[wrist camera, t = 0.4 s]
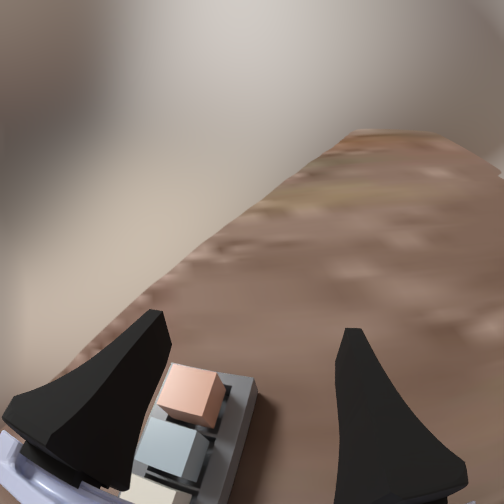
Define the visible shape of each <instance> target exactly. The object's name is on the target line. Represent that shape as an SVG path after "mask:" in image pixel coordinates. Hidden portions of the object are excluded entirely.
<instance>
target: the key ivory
mask: <svg viewBox="0 0 504 504" xmlns="http://www.w3.org/2000/svg"><path fill="white" fill-rule="evenodd" d="M191 497H192V495H191V494H188V493H185V492H182V491H179V490H177V489H174V488H171V487H168V486H166V485H163V484H160V483H158V482H155V481H153V480H150V479H148V478H144V477H142V476H139V475H136V474H133V473H132V474H131V482H130V489H129V490H127V491H125V492H121V495H120V497H119V498H121V499H124V500H127V501H129V502H132V503H135V504H189V503H190V500H191Z"/></svg>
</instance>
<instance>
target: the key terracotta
mask: <svg viewBox="0 0 504 504" xmlns="http://www.w3.org/2000/svg"><path fill="white" fill-rule="evenodd" d="M225 392H226V389H225V387H224V385H223V383H222V381H221V379H220V378H219V376H218V374H217V372H212V371H206V370H201V369H196V368H191V367H186V366H182V365H177V364H173V365H172V368H171V370H170V372H169V375H168V377H167V380H166V382H165V384H164V387H163V389H162V391H161V394H160V396H159V399H158V401H157V403H156V404H157V405H158V406H159V407H160V408H162V409H163V410H164V411H165V412H166V413H167V414H168V415H169V416H171V417H172V418H174V419H177V420H181V421H184V422H188V423H192V424H195V425H199V426H203V427H207V428H211V429H214V427H215V424H216V420H217V417H218V414H219V411H220V408H221V405H222V401H223V398H224V395H225Z"/></svg>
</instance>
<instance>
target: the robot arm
mask: <svg viewBox="0 0 504 504" xmlns="http://www.w3.org/2000/svg"><path fill="white" fill-rule="evenodd" d="M171 346H172V343H171V340H170V336H169V332H168V329H167V325H166V321H165V318H164V314H163V311H158V310H152V309H149V310H148V311H147V312H146V313H145V314H143V315H142V316H141V317H140V318H139V319H138V320H137V321H136V322H134V323H133V324H132V325H131V326H130V327H129V328H128V329H127V330H125V331H124V332H123V333H122V334H121V335H120V336H119V337H117V338H116V339H115V340H114V341H113V342H112V343H110V344H109V345H108V346H107V347H105V348H104V349H103V350H102V351H100V352H99V353H98V354H97V355H95V356H94V357H93V358H91V359H90V360H88V361H87V362H85V363H84V364H82V365H81V366H79V367H78V368H76V369H75V370H73V371H71V372H69V373H68V374H66V375H64V376H62V377H60V378H59V379H57V380H55V381H53V382H51V383H48V384H46V385H44V386H42V387H39V388H37V389H34V390H32V391H29V392H26V393H23V394H20V395H17V396H14V397H13V399H12V401H11V402H10V404H9V405H8V407H7V409H6V410H5V412H4V414H3V416H2V419H3V421H4V422H5V423H6V424H7V425H8V426H9V427H11V428H12V429H13V430H14V431H15V432H16V433H17V434H19V435H20V436H21V437H22V438H23V439H25V440H26V441H25V443H24V445H23V444H22V443H21V442H20V441H18V440H17V439H15V438H14V437H13V436H11V435H10V434H9V433H7V432H6V431H5V430H3V431H2V432H1V434H0V484H1V485H2V486H3V487H4V488H5V489H6V490H7V491H9V492H10V493H11V494H12V495H13V496H14V497H15V498H16V499H17V500H18V501H19V502H20V503H21V504H135V503H132V502H129V501H127V500H124V499H121V498H119V497H117V496H114V495H112V494H109V493H107V492H105V491H103V490H100V487H101V486H102V487H104V488H106V489H109V487H111V488H114V489H116V490H119V491H121V492H125V491H127V490H129V489H130V482H131V474H132V467H133V462H134V456H135V451H136V447H137V442H138V438H139V434H140V430H141V427H142V423H143V420H144V416H145V413H146V411H147V408H148V406H149V403H150V401H151V399H152V396H153V394H154V392H155V389H156V387H157V385H158V383H159V380H160V378H161V376H162V373H163V371H164V369H165V366H166V363H167V360H168V357H169V353H170V350H171ZM335 387H336V398H337V408H338V420H339V434H340V444H339V462H338V474H337V483H336V491H335V498H334V504H447V503H448V501H447V496H449V495H451V494H453V493H455V492H457V491H459V490H461V489H463V488H465V487H466V486H467V485H468V476H467V469H466V465H465V462H464V461H463V460H462V459H460V458H459V457H458V456H457V455H455V454H454V453H453V452H451V451H450V450H449V449H448V448H446V447H445V446H444V445H443V444H442V443H441V442H440V441H439V440H438V439H437V438H436V437H435V436H434V435H433V434H432V433H431V432H430V431H429V430H428V429H427V428H426V427H425V426H424V425H423V424H422V423H421V421H420V420H419V419H418V418H417V417H416V416H415V414H414V413H413V412H412V411H411V409H410V408H409V407H408V405H407V404H406V403H405V402H404V400H403V399H402V397H401V396H400V395H399V393H398V392H397V390H396V389H395V387H394V386H393V384H392V383H391V381H390V379H389V378H388V376H387V375H386V373H385V371H384V369H383V368H382V366H381V364H380V363H379V361H378V359H377V357H376V356H375V354H374V352H373V350H372V348H371V346H370V344H369V342H368V340H367V339H366V337H365V335H364V333H363V331H362V329H361V328H345V331H344V335H343V338H342V342H341V345H340V348H339V351H338V354H337V358H336V361H335ZM466 504H476V502H475V501H471V502H469V503H466Z"/></svg>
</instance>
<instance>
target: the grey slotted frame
mask: <svg viewBox="0 0 504 504" xmlns="http://www.w3.org/2000/svg"><path fill="white" fill-rule="evenodd" d="M173 364H175V363H172V364H171V366H170V368H169V371H168V373H167V375H166V378H165V380H164V382H163V385H162V387H161V389H160V392H159V394H158V397H157V399H156V401H155V404H154V406H153V409H152V411H151V413H150V416H149V418H148V421H147V423H146V426H145V428H144V431H143V433H142V436H141V438H140V441H139V443H138V446H137V448H136V451H135V455H136V453H137V450H138V448H139V445H140V443H141V440H142V438H143V435H144V433H145V430H146V428H147V425H148V423H149V421H150V418H151V417H153V418H156V419H159V420H162V421H166V422H169V423H172V424H175V425H179V426H182V427H186V428H189V429H193V430H196V431H198V432H199V433H200V434H201V435H203V436H204V437H205V438H206V439H207V440H208V441H210V442H209V445H208V449H207V452H206V455H205V458H204V461H203V464H202V467H201V470H200V473H199V476H198V479H197V482H194V481H190V480H187V479H184V478H181V477H178V476H175V475H172V474H170V473H167V472H164V471H161V470H159V469H156V468H154V467H151V466H149V465H146V464H144V463H142V462H139V461H137V460H135V459H134V462H133V467H132V473H133V474H136V475H139V476H142V477H144V478H148V479H150V480H153V481H155V482H158V483H160V484H163V485H166V486H168V487H171V488H174V489H177V490H179V491H182V492H185V493H188V494H191V495H192V497H191V500H190V503H189V504H227V503H228V499H229V496H230V493H231V489H232V486H233V482H234V479H235V476H236V472H237V469H238V465H239V462H240V458H241V454H242V451H243V447H244V444H245V440H246V436H247V432H248V429H249V425H250V421H251V417H252V414H253V410H254V406H255V402H256V398H257V394H258V389H257V386H256V383H255V380H254V378H252V377H245V376H239V375H232V374H226V373H221V372H217V374H218V376H219V378H220V379H221V381H222V383H223V385H224V387H225V389H226V392H225V395H224V398H223V401H222V405H221V408H220V411H219V414H218V417H217V420H216V424H215V427H214V429H211V428H207V427H203V426H199V425H195V424H192V423H188V422H184V421H181V420H177V419H174V418H172V417H171V416H169V415H168V414H167V413H166V412H165V411H164V410H163V409H162V408H160V407H159V406H158V405H157V404H156V403H157V401H158V399H159V396H160V394H161V391H162V389H163V387H164V384H165V382H166V380H167V377H168V375H169V372H170V370H171V368H172V365H173ZM177 365H180V364H177ZM182 366H185V365H182ZM186 367H189V366H186ZM191 368H194V367H191ZM196 369H199V368H196ZM201 370H204V369H201ZM206 371H209V370H206ZM212 372H215V371H212ZM134 458H135V456H134ZM120 495H121V491H120V492H119V494H118V497H120Z"/></svg>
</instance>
